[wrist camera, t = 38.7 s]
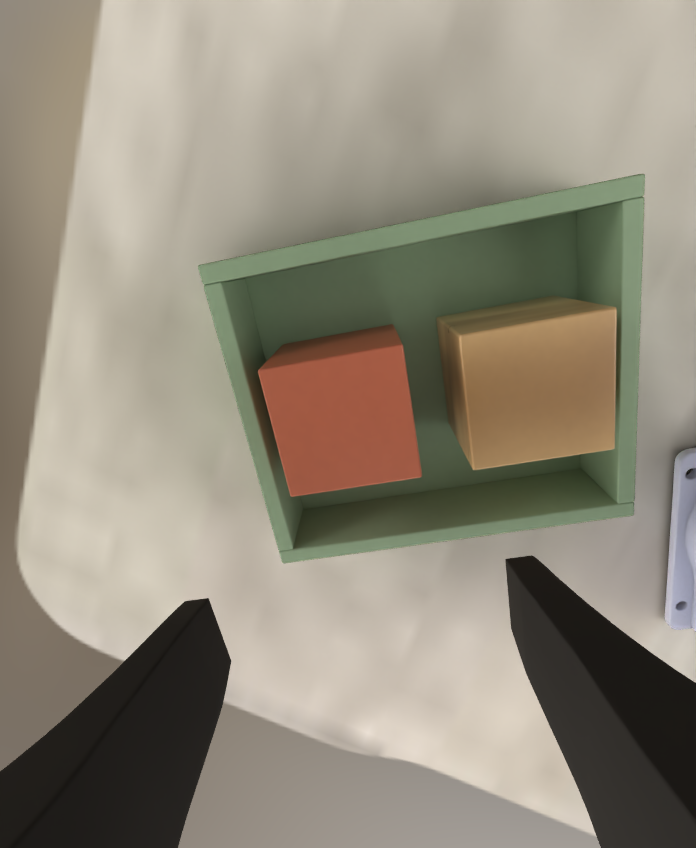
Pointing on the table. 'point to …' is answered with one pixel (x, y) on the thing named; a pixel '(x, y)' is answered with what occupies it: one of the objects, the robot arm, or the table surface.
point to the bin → (439, 359)
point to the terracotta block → (342, 411)
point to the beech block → (530, 380)
